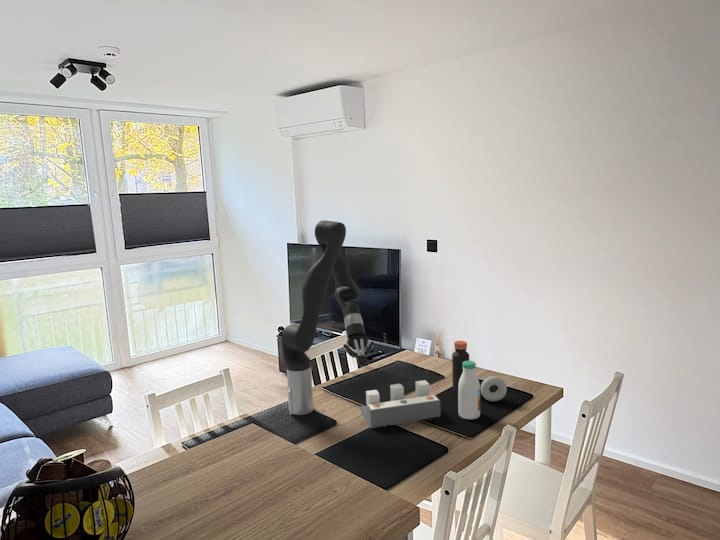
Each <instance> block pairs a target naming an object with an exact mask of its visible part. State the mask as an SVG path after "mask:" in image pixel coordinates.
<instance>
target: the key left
mask: <svg viewBox="0 0 720 540" xmlns="http://www.w3.org/2000/svg"><path fill="white" fill-rule="evenodd" d="M380 397H381V396H380V393H379V391H378V389H372V390H366V391H365V400H366V401H365V403H366V404H365V406H367V405H368V404H374V403H381V401H380Z"/></svg>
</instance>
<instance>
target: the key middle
mask: <svg viewBox="0 0 720 540" xmlns="http://www.w3.org/2000/svg"><path fill="white" fill-rule="evenodd" d="M389 388H390V393H389V394H390V401H395V400H402V399H405V389H404V388H405V387H404V386H403V385H402V384H401V383H394V384H390V385H389Z"/></svg>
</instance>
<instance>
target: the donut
mask: <svg viewBox="0 0 720 540" xmlns="http://www.w3.org/2000/svg"><path fill="white" fill-rule="evenodd" d="M492 386H496V387H497V390H496V391H495V392H493V391H492V392H491V391H490V388H491V387H492ZM507 390H508V388H507V383H506V382H505V380H503V378H501V377H499V376H497V375H496V376H495V375H492V376H491V375H490V376H488V377H486V378H484V379H483V381H482V382H481V384H480V395H482V397H483V398H484V399H485V400H486V401H488V402H498V401H501V400H502V399H503V398H504V397H505V396H506V394H507Z"/></svg>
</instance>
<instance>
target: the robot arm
mask: <svg viewBox="0 0 720 540" xmlns="http://www.w3.org/2000/svg"><path fill="white" fill-rule="evenodd" d="M346 234H347V227H346V225H345V224H344V222H343V223H342V222H340V221H332V220H320V221H318V222H317V223H316V225H315V227H314V237H315V239H316V242H317V245H319V247H320V249H321V251H322V253H323V254H322V256H321V257H320V258H319V259H318V260H317V261H316V262H315V263H314V264H313V265H312V266H311V267H310V268H309V270H307V272H306V275H305V277H304V281H303V284H302V287H301V300H302V316H301V319H300V324H299V325H297V324H294V323H293V324H289V325H287V326H286V327H284V329H283V331H282V334H281V348H282V358H283V361H284V363H285V366H286V378H287V381H286V382H287V386H286V387H287V388H286V389H287V402H288V411H289V415H290V416H292V415H294V416H304V415H308V414H310V413H312V412H313V411H314V410H315V409H314V406H315V405H314V394H313V377H312V376H313V375H312V360H311V359H310V357H309V356H308V355H307V354H306V352H307V351H309V350H310V349H311V348H312V345H313V343H314V340H315V336H316V332H317V327H318V323H319V322H318V321H319V318H320V317H319V316H320V314H321V310H322V306H323V303H324V299H325V296H326V294H327V290H328V287H329V285H330V280H331V276H333V279H334V281H335V282H334V283H335V284H336V286H337V287H338V288H336V289H335V292H334V296H335V299H336V301H337V302H338V304H339V306H340V308H341V311H342V314H343V320H344V329H345V333H346V338H347V341H346V343H345V344H343V345H342V350H343V351H344V352H346V353H347V355H349V356H350V357H351V358H355V359H356V361H357V364H358V366H359V367H360V368H362V367H364V366H366V358H365V357H368V356H369V354H370V353H371V352H372V351H371V350H372V349H373V347H374V344H375V342H374V341H370V340H369V339H368V337H367V334H366V329H365V325H364V322H363V318H362V314H361V310H360V306H359V304H358V303H355V302H356V301H358V300H359V299H360V298H361V290H360V287H359V286H358V285H357V284H356V282H355V281H354V279H353V277H352V275H351V271H350V268H349V265H348V263H347V261H346V259H344V257H342V255H341V254H340V251H342V248H343V245H344V241H345V239H346ZM354 301H355V302H354ZM366 346H367V348H366ZM365 348H366V350H365Z"/></svg>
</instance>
